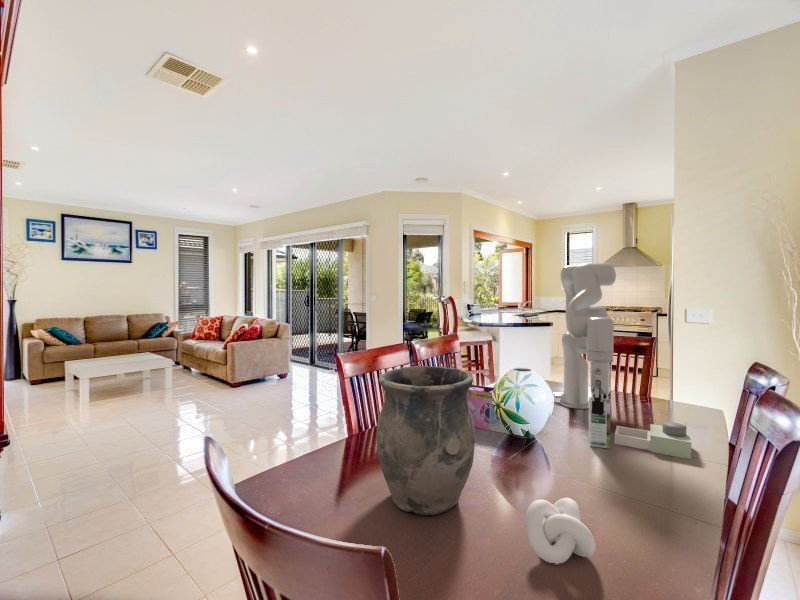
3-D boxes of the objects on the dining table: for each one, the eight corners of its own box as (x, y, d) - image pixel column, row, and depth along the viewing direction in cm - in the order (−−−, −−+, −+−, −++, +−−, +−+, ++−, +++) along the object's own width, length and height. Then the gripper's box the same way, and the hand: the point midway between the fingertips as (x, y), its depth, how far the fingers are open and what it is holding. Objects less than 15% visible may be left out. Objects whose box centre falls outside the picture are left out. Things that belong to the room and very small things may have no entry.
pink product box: (533, 431, 137) (533, 392, 136) (528, 438, 130) (528, 397, 130) (469, 419, 149) (469, 383, 149) (460, 425, 142) (461, 388, 142)
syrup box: (589, 446, 123) (590, 400, 122) (588, 439, 128) (588, 396, 128) (610, 449, 121) (610, 402, 120) (607, 442, 126) (608, 397, 126)
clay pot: (380, 476, 104) (380, 363, 103) (467, 477, 103) (467, 364, 102) (372, 527, 81) (371, 384, 81) (482, 529, 81) (483, 385, 80)
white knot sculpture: (524, 526, 82) (525, 484, 81) (587, 537, 78) (588, 492, 78) (525, 563, 71) (526, 514, 71) (599, 577, 67) (599, 526, 67)
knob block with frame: (614, 445, 124) (614, 421, 124) (616, 433, 134) (617, 411, 134) (691, 459, 113) (691, 433, 113) (687, 445, 123) (688, 421, 123)
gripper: (611, 361, 114) (610, 419, 114) (615, 354, 129) (615, 405, 129) (582, 358, 118) (582, 415, 118) (590, 352, 133) (589, 402, 133)
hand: (599, 410), depth 124 cm, fingers open, 9 cm apart
